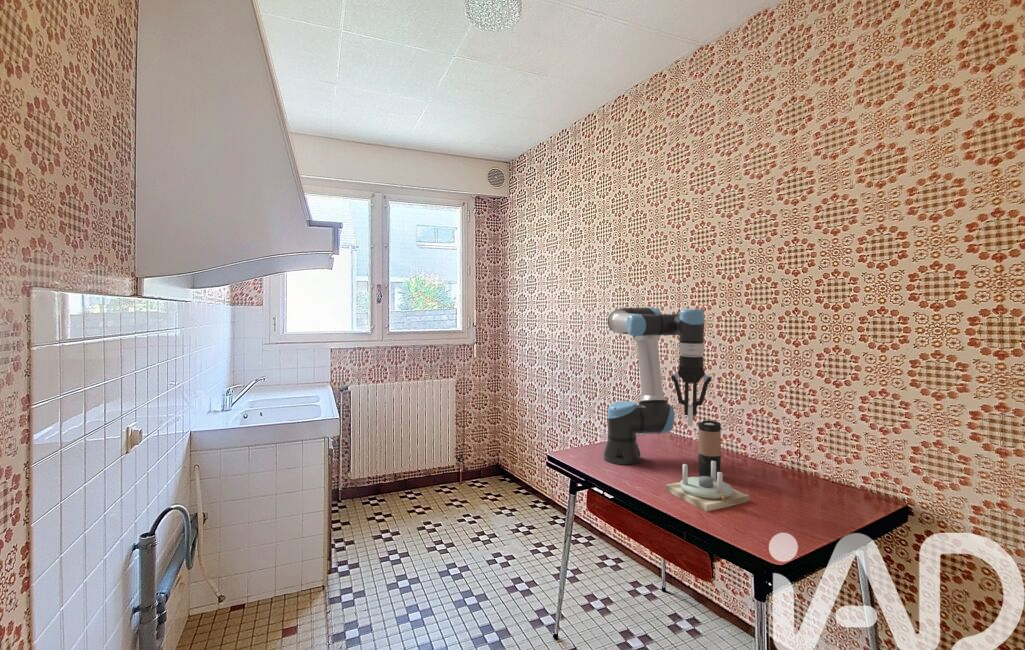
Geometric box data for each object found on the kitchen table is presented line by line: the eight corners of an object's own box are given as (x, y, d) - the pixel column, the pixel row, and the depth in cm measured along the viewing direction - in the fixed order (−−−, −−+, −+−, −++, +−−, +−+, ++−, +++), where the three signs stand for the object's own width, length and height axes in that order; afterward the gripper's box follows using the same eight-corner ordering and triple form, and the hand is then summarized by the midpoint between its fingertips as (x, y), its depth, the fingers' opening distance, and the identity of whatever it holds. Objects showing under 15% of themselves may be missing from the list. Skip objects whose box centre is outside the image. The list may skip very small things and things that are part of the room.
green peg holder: (701, 501, 142) (701, 477, 141) (670, 483, 157) (670, 461, 157) (744, 495, 146) (744, 471, 146) (709, 478, 161) (709, 456, 161)
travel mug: (723, 480, 165) (723, 425, 164) (700, 479, 166) (700, 424, 166) (718, 473, 172) (718, 420, 172) (696, 472, 174) (696, 420, 173)
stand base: (665, 490, 156) (665, 481, 156) (705, 482, 163) (705, 473, 163) (707, 511, 140) (707, 501, 139) (749, 501, 146) (749, 492, 146)
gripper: (670, 355, 152) (669, 425, 154) (712, 357, 147) (711, 429, 149) (671, 353, 159) (670, 420, 160) (712, 354, 154) (711, 423, 155)
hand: (690, 424), depth 154 cm, fingers closed
